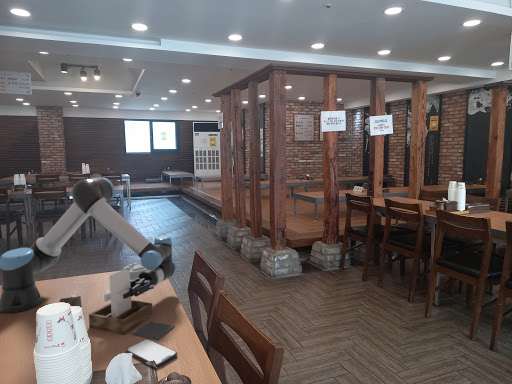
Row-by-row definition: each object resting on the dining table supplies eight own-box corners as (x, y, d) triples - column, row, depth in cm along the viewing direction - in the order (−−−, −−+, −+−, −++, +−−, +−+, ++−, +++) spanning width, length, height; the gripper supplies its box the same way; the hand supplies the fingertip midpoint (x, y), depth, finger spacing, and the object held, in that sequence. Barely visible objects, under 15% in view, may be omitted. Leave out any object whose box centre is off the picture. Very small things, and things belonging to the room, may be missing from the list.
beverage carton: (48, 335, 125) (46, 317, 124) (61, 312, 143) (59, 297, 143) (73, 332, 127) (71, 314, 127) (82, 310, 146) (81, 294, 145)
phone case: (124, 354, 114) (156, 370, 104) (124, 349, 113) (156, 365, 104) (147, 342, 121) (179, 357, 111) (147, 338, 121) (178, 352, 111)
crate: (89, 327, 130) (88, 314, 130) (120, 309, 145) (119, 297, 145) (124, 334, 125) (123, 321, 124) (152, 315, 140) (152, 303, 139)
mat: (132, 334, 125) (132, 333, 125) (150, 322, 134) (149, 321, 134) (158, 340, 121) (158, 338, 121) (174, 326, 130) (174, 325, 130)
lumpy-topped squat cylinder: (131, 287, 169) (130, 270, 169) (119, 280, 179) (119, 264, 178) (151, 282, 177) (150, 265, 176) (139, 276, 186) (138, 259, 185)
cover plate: (111, 322, 131) (109, 276, 130) (126, 313, 139) (124, 269, 137) (117, 323, 131) (114, 276, 129) (131, 314, 138) (129, 270, 136)
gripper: (168, 289, 148) (130, 312, 126) (134, 284, 154) (92, 305, 132) (167, 271, 147) (129, 291, 125) (133, 267, 153) (91, 286, 131)
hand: (110, 298), depth 129 cm, fingers open, 4 cm apart
